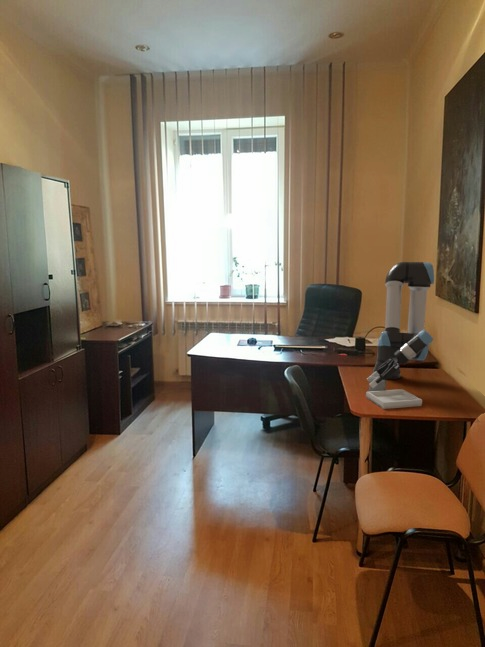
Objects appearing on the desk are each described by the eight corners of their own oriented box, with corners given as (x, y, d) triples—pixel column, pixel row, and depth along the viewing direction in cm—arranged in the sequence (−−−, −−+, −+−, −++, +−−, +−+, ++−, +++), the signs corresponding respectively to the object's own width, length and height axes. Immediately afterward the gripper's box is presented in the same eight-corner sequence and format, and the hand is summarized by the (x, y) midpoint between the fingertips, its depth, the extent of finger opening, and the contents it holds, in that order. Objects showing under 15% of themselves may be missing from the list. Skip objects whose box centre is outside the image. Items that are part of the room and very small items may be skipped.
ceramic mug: (386, 394, 231) (386, 379, 230) (369, 392, 233) (369, 378, 232) (385, 388, 241) (385, 374, 240) (368, 387, 243) (369, 372, 242)
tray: (365, 397, 226) (366, 391, 226) (402, 394, 231) (402, 389, 230) (383, 408, 211) (383, 402, 210) (421, 405, 215) (422, 399, 215)
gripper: (414, 365, 221) (378, 395, 226) (404, 354, 242) (371, 382, 246) (404, 354, 221) (367, 384, 225) (395, 344, 241) (361, 372, 246)
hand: (369, 383), depth 236 cm, fingers closed on ceramic mug, 8 cm apart
